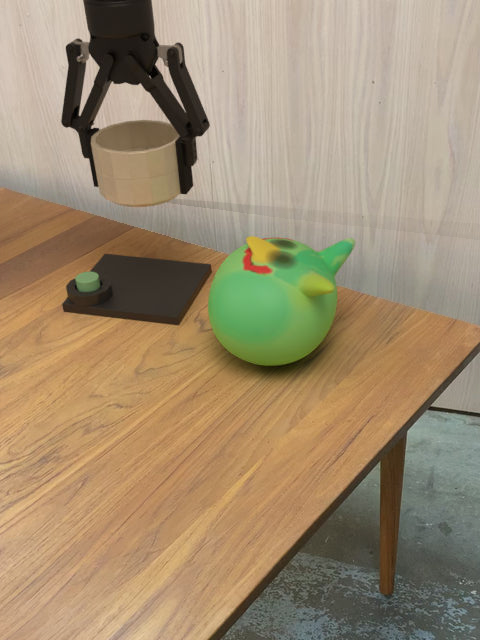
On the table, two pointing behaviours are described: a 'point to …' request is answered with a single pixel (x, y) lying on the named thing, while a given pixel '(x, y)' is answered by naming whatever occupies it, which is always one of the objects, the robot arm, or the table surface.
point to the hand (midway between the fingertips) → (143, 186)
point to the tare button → (87, 281)
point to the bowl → (137, 163)
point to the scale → (140, 289)
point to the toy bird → (275, 298)
